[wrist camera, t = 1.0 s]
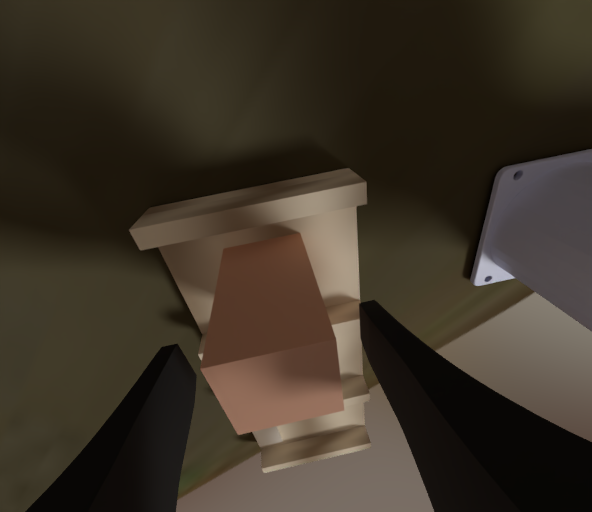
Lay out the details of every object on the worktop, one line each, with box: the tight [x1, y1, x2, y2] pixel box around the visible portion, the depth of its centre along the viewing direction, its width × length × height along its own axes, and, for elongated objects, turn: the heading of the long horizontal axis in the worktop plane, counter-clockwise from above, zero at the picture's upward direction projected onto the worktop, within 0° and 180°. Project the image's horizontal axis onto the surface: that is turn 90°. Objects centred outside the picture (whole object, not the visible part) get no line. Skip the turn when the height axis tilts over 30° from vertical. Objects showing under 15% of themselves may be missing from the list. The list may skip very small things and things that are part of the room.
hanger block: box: [200, 233, 344, 435], centre depth 12 cm, size 4×4×7 cm
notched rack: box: [129, 168, 371, 473], centre depth 19 cm, size 10×25×2 cm, turn 9°
